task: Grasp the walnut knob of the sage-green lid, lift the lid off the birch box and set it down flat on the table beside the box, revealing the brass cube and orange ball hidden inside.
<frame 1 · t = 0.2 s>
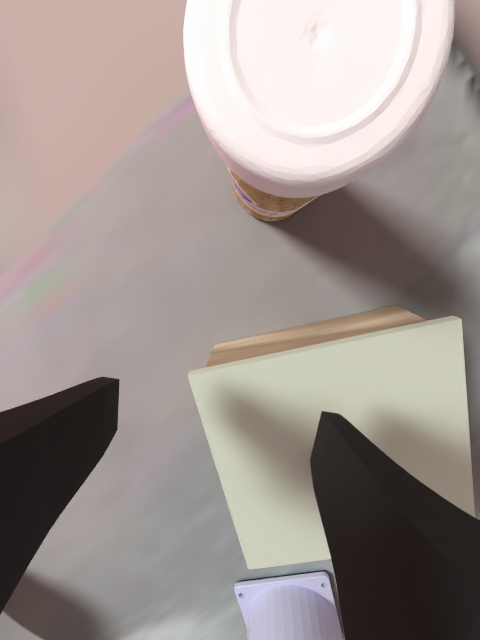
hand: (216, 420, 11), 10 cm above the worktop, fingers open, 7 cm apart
box: (318, 405, 21), on the worktop
lid: (336, 454, 17), point 5 cm above the worktop, touching box
sprinkles bottle: (272, 182, 18), on the worktop
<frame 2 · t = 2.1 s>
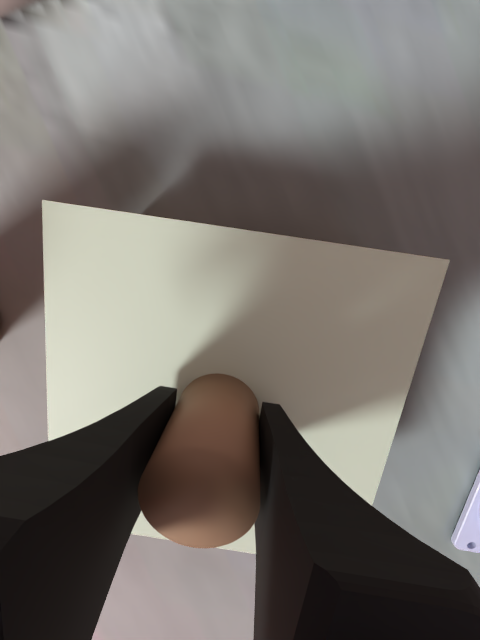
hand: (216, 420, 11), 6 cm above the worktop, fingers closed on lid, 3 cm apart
lid: (220, 402, 12), point 5 cm above the worktop, touching box, gripper
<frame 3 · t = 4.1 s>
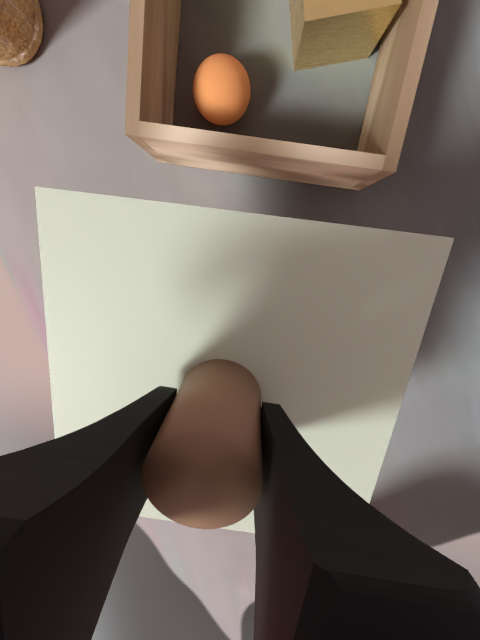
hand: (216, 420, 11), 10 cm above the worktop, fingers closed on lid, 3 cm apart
box: (275, 57, 17), on the worktop
lid: (222, 387, 12), point 9 cm above the worktop, touching gripper
brass cube: (328, 21, 16), resting in box
sprinkles bottle: (10, 24, 17), on the worktop
orange ball: (224, 103, 17), resting in box
when the fingers open (3 cm above the worktop, at t = 6.3 s): lid drops 2 cm, on the worktop.
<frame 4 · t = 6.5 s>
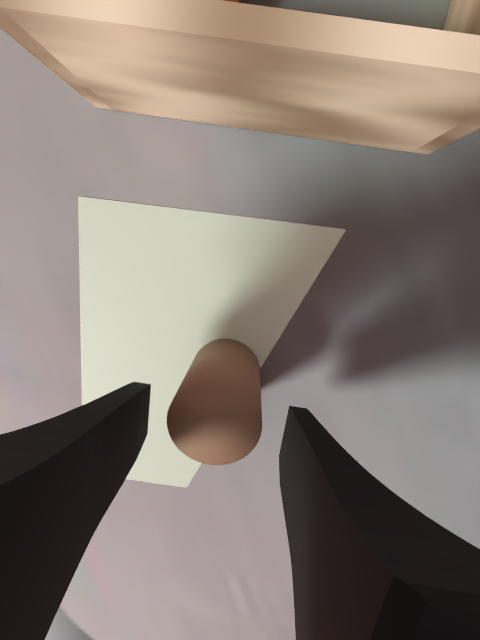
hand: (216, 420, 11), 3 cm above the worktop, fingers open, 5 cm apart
lid: (227, 365, 14), on the worktop
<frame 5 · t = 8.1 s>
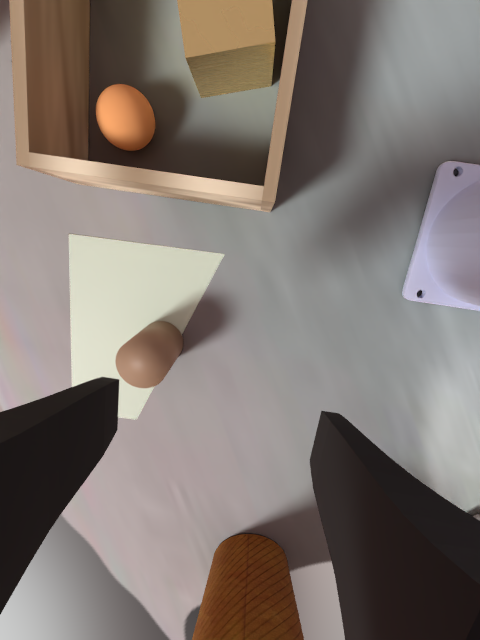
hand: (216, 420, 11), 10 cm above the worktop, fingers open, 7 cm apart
box: (182, 85, 17), on the worktop
disposable coffee cup: (250, 559, 26), on the worktop
lid: (164, 339, 22), on the worktop
brass cube: (231, 51, 17), resting in box
orange ball: (137, 128, 18), resting in box
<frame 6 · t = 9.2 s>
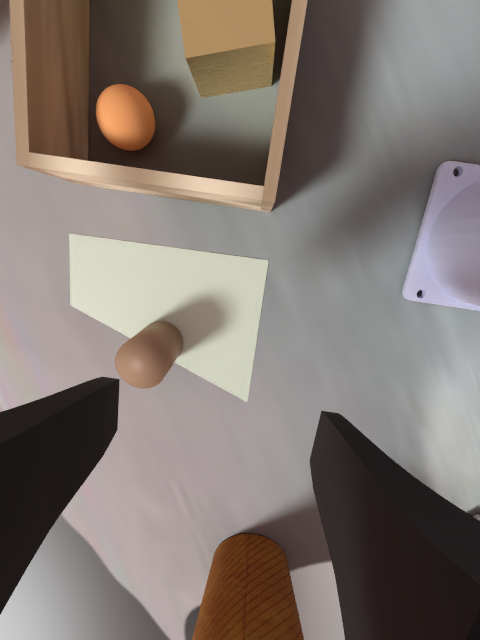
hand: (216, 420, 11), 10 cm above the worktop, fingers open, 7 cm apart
box: (182, 85, 17), on the worktop
disposable coffee cup: (250, 559, 26), on the worktop
lid: (164, 339, 22), on the worktop
brass cube: (231, 51, 17), resting in box
orange ball: (137, 128, 18), resting in box
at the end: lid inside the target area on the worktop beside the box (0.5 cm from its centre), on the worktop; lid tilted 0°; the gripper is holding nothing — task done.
